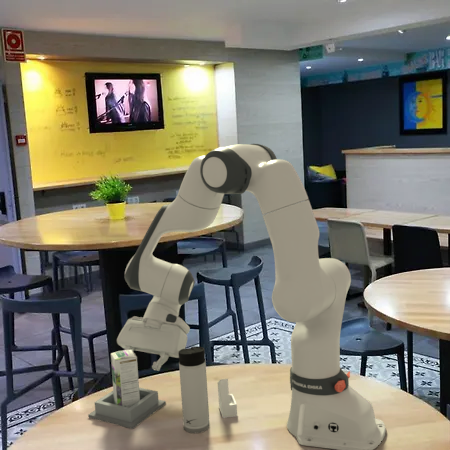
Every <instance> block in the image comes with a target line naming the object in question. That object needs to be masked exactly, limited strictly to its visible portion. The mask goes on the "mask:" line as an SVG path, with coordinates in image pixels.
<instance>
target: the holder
mask: <svg viewBox="0 0 450 450" xmlns="http://www.w3.org/2000/svg"><path fill="white" fill-rule="evenodd" d="M139 394H140V401H138V402H137V403H136V404H134V405H133V406H131V407H130V408H128V407H124V406H120V405H116V404H114V392H113V390H112V391H110V392H108V393H106V394H105V395H104V396H102V397H100V398H99V399H97V400H96V401H94V410H93V411H91V412H90V413H88V414H87V416H88V417H89V419H93V420H96V421H100V422H104V423H108V424H113V425H116V426H119V427H123V428H127V429H131V430H133V429H135V428H136V427H137V426H138V425H140V424H141V423H143V422H144V421H145V420H147V418H149V417H151V416H152V415H153V414H154V413H155V412H157V411H158V410H160V409H161V408H162V407H164V406H165V405H167V403H166V402H167V401H166V400H164V399H159V392H158V391H157V390H152V389H148V388H143V387H139ZM88 417H87V418H88Z"/></svg>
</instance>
